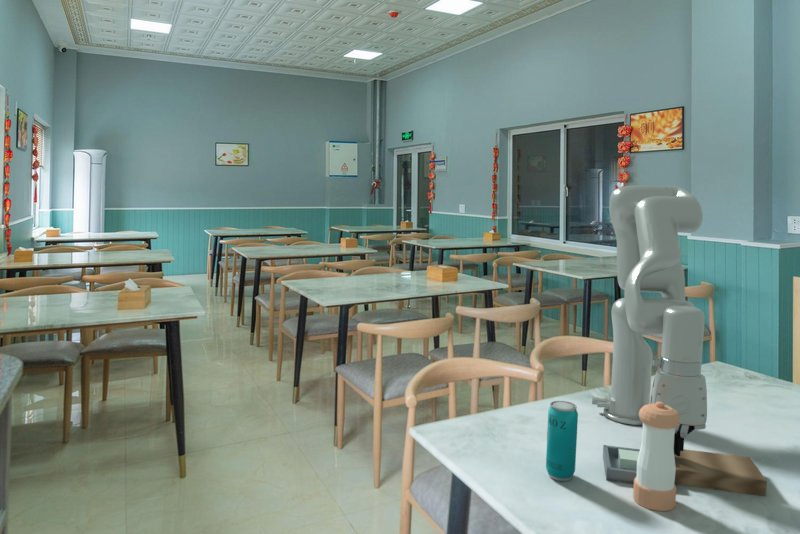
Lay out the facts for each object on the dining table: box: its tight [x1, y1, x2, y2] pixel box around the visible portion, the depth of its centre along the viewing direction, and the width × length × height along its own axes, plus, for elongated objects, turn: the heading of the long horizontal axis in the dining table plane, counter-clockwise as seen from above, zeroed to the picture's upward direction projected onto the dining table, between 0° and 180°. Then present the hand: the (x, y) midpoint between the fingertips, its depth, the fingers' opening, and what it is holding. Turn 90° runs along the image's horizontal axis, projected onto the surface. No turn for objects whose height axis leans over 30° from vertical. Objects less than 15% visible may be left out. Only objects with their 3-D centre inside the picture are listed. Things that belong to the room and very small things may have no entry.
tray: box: [602, 444, 676, 485], centre depth 120 cm, size 13×12×2 cm
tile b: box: [618, 449, 639, 470], centre depth 122 cm, size 5×5×2 cm
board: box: [674, 448, 768, 497], centre depth 118 cm, size 16×11×3 cm
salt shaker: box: [632, 402, 680, 512], centre depth 107 cm, size 7×7×19 cm
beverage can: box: [545, 400, 579, 482], centre depth 117 cm, size 6×6×15 cm
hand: (674, 452), depth 120 cm, fingers closed
